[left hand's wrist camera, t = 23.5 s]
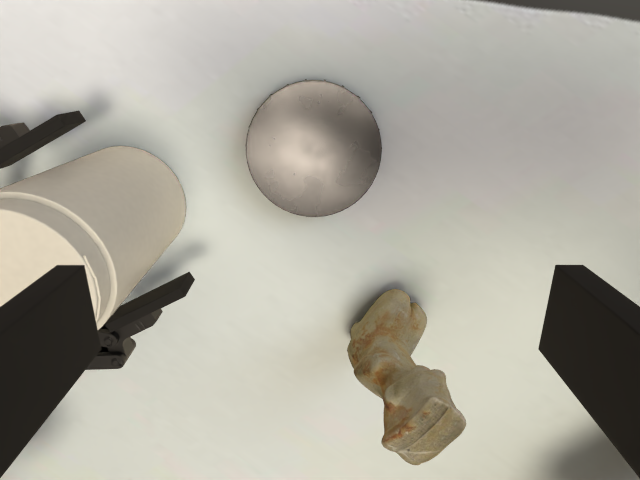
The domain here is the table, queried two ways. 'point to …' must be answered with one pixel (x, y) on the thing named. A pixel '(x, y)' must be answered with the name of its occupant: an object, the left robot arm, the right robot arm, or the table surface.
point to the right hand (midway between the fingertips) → (134, 206)
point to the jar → (91, 223)
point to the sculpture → (403, 379)
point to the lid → (313, 148)
